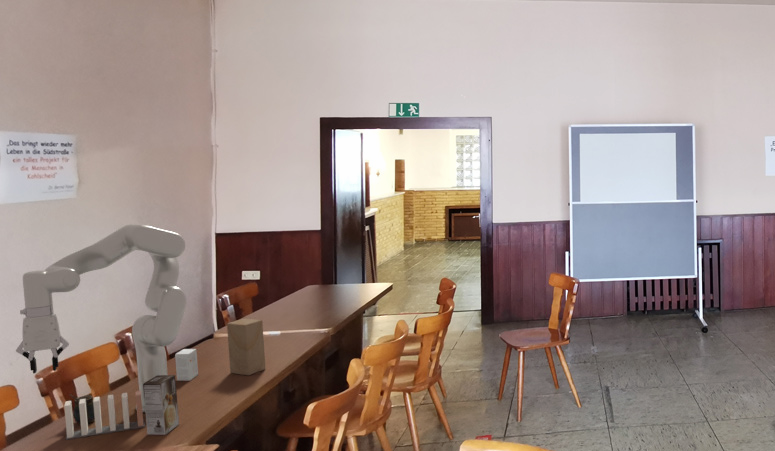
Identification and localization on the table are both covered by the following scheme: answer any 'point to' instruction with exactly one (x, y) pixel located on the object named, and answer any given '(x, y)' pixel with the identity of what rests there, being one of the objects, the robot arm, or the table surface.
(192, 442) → the table surface
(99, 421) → the domino
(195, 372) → the small box
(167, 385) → the coffee box
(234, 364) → the wooden block
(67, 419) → the domino
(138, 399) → the domino
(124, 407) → the domino
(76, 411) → the mate gourd
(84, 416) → the domino
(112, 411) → the domino
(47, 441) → the table surface
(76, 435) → the mat
